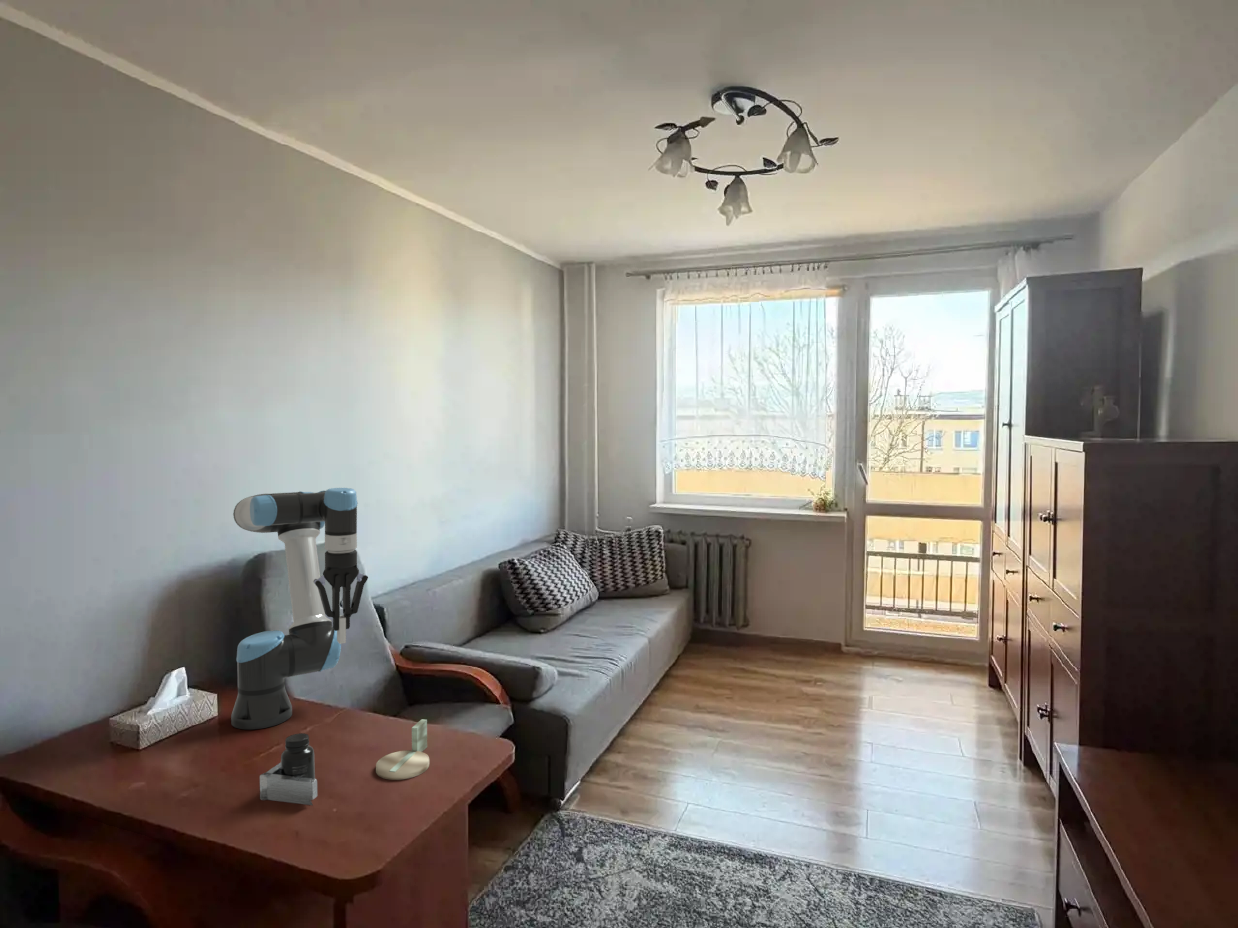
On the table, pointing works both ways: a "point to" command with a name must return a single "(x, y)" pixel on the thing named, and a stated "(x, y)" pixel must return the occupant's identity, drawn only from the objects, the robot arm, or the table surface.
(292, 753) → the supplement bottle
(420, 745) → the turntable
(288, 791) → the vee block
